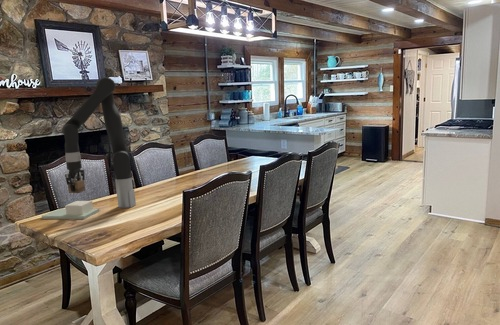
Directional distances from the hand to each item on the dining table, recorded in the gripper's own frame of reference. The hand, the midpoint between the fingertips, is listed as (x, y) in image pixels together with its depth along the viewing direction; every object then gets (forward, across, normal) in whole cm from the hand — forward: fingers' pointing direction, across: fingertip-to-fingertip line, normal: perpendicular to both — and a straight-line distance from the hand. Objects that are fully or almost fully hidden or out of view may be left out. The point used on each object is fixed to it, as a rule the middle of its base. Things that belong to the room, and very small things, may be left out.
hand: (77, 190), depth 212 cm
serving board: (+14, -1, +5) cm, 15 cm away
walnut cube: (+1, 0, 0) cm, 1 cm away
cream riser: (+13, 0, 0) cm, 13 cm away
